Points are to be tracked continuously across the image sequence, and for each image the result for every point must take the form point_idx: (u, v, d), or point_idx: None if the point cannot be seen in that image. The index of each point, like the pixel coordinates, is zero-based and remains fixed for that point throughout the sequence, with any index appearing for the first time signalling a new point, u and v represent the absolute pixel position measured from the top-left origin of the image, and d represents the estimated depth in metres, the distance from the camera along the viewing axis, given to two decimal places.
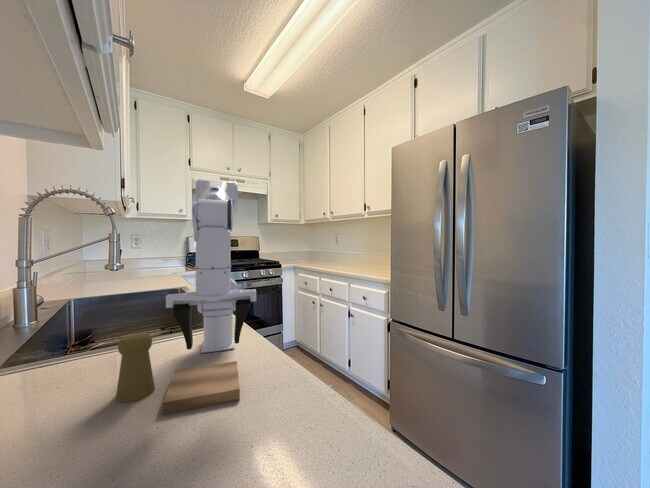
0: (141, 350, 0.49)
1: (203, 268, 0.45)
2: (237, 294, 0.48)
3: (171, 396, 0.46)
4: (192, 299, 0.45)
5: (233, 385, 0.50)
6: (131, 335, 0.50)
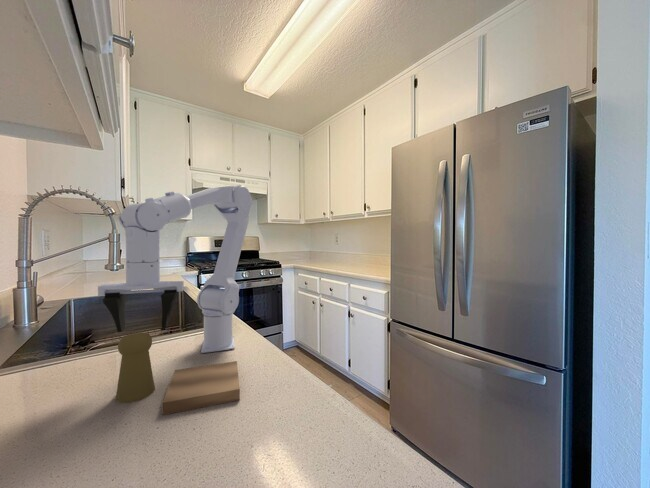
0: (141, 350, 0.49)
1: (130, 262, 0.53)
2: (163, 285, 0.55)
3: (171, 396, 0.46)
4: (121, 288, 0.53)
5: (233, 385, 0.50)
6: (131, 335, 0.50)
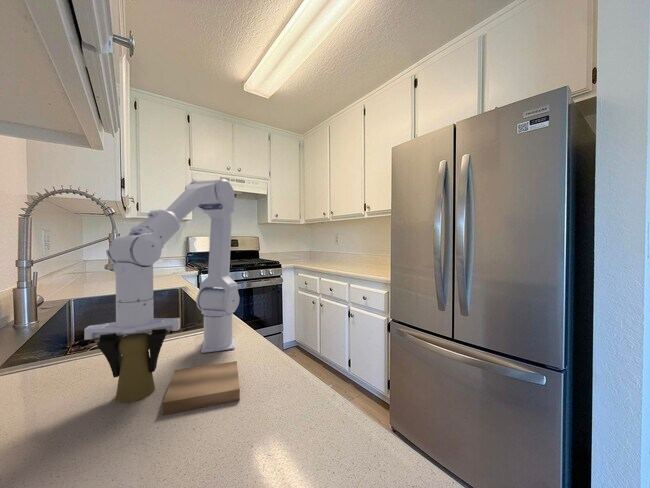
0: (141, 349, 0.49)
1: (121, 301, 0.48)
2: (157, 325, 0.50)
3: (171, 396, 0.46)
4: (110, 331, 0.48)
5: (233, 385, 0.50)
6: (131, 335, 0.50)
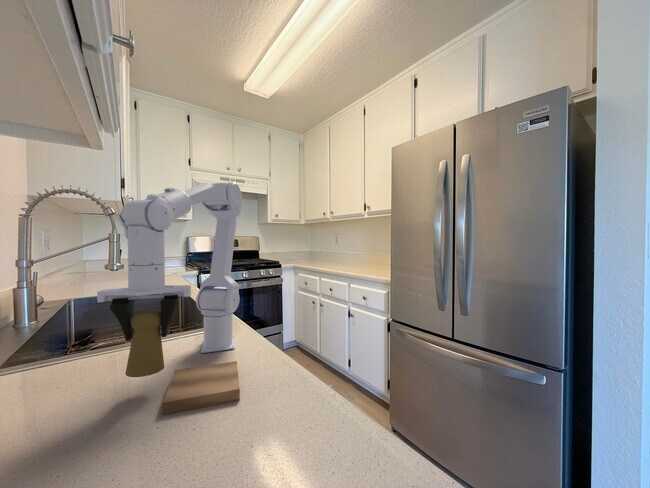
0: (154, 324, 0.49)
1: (133, 265, 0.48)
2: (169, 289, 0.50)
3: (171, 396, 0.46)
4: (122, 294, 0.48)
5: (233, 385, 0.50)
6: (144, 310, 0.50)
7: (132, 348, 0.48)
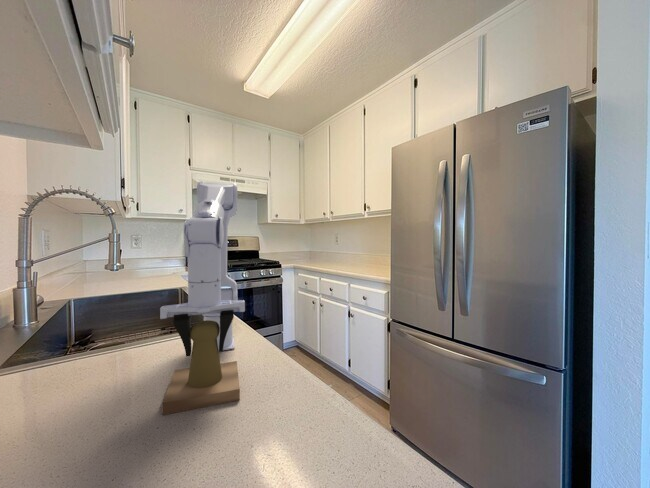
0: (213, 336, 0.50)
1: (194, 282, 0.49)
2: (226, 305, 0.52)
3: (171, 396, 0.46)
4: (184, 310, 0.49)
5: (233, 385, 0.50)
6: (201, 322, 0.51)
7: (194, 360, 0.49)
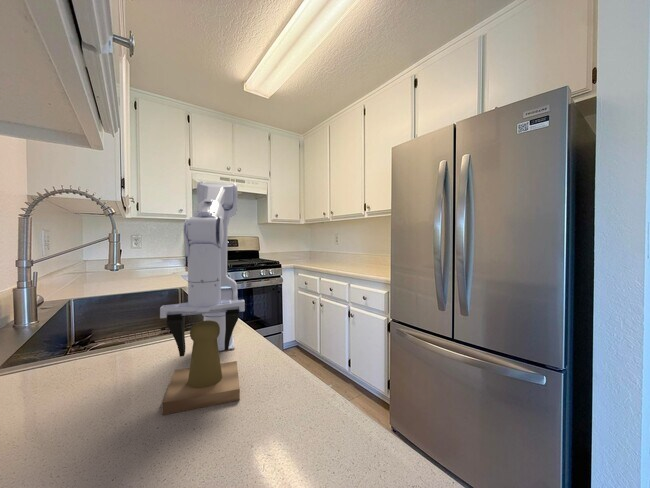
0: (214, 336, 0.50)
1: (194, 281, 0.49)
2: (226, 305, 0.52)
3: (171, 396, 0.46)
4: (184, 310, 0.49)
5: (233, 385, 0.50)
6: (202, 322, 0.51)
7: (194, 360, 0.49)
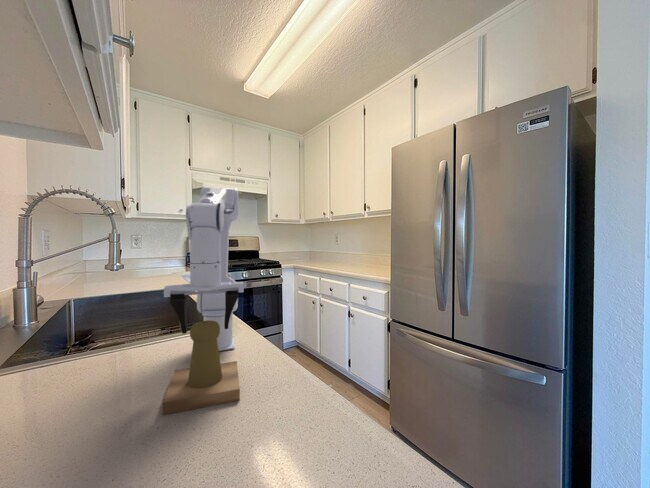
0: (214, 336, 0.50)
1: (196, 263, 0.52)
2: (226, 286, 0.55)
3: (171, 396, 0.46)
4: (187, 289, 0.52)
5: (233, 385, 0.50)
6: (202, 322, 0.51)
7: (194, 360, 0.49)
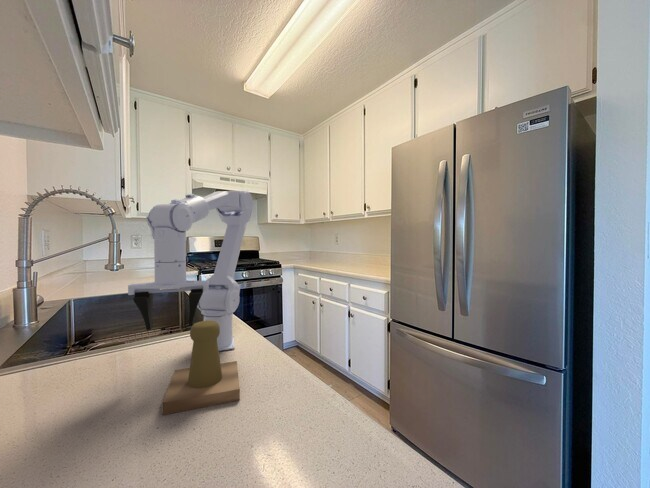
0: (214, 336, 0.50)
1: (159, 262, 0.54)
2: (190, 284, 0.57)
3: (171, 396, 0.46)
4: (150, 287, 0.54)
5: (233, 385, 0.50)
6: (202, 322, 0.51)
7: (194, 360, 0.49)
